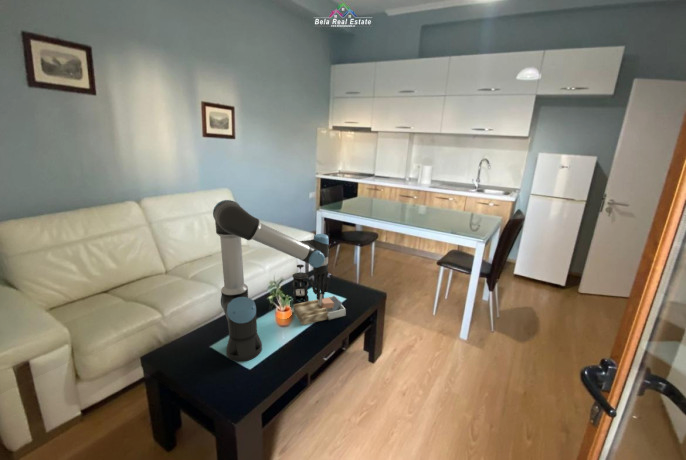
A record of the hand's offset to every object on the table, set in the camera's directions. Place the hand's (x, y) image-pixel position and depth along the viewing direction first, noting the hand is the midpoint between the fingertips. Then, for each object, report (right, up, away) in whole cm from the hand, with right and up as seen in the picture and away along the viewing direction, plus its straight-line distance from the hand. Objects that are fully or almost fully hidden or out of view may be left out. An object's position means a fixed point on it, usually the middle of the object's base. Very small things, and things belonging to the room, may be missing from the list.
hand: (320, 304), depth 172 cm
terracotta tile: (+3, -1, +2) cm, 4 cm away
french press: (-12, -2, +13) cm, 18 cm away
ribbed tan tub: (-5, -6, -1) cm, 8 cm away
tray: (+6, -4, +4) cm, 9 cm away
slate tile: (+7, 0, +4) cm, 8 cm away
